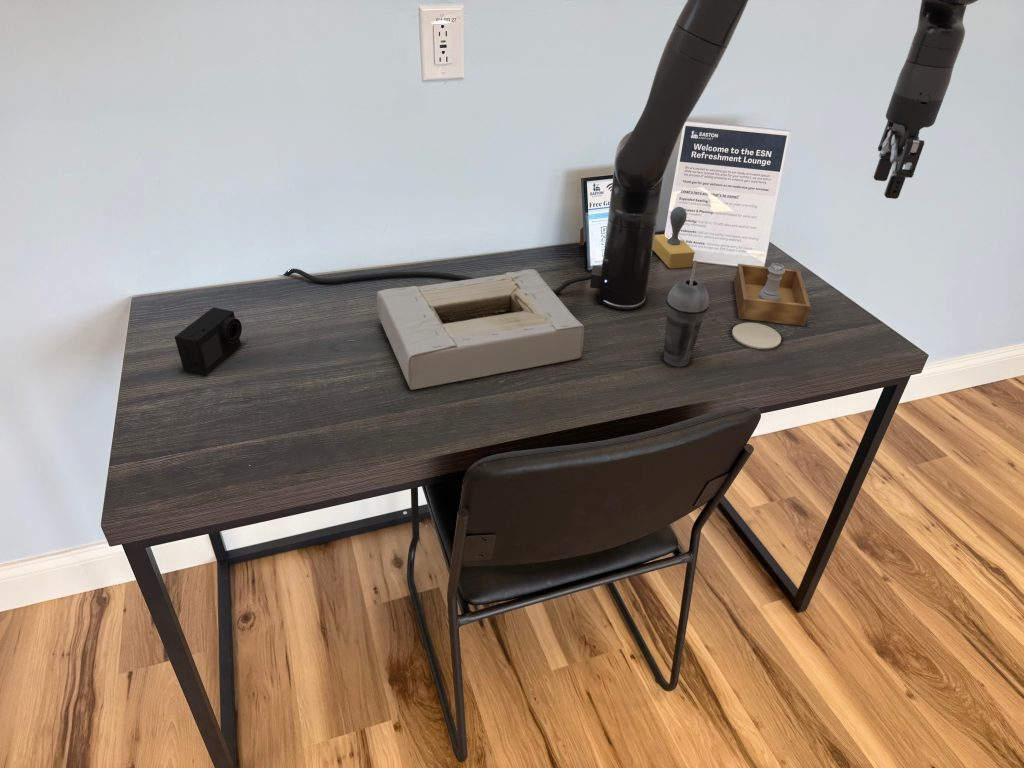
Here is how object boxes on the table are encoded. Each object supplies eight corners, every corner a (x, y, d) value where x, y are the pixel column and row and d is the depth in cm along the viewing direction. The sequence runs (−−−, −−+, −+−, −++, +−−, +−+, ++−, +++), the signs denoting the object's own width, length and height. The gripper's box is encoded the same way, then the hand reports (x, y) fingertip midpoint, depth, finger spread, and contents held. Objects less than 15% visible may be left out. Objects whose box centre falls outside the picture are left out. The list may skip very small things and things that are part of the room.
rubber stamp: (651, 249, 169) (658, 199, 162) (674, 247, 170) (683, 197, 163) (668, 268, 161) (677, 217, 154) (692, 266, 162) (702, 215, 155)
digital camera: (211, 377, 122) (202, 342, 118) (183, 371, 123) (173, 336, 119) (247, 346, 130) (240, 311, 126) (220, 340, 132) (212, 306, 127)
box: (533, 298, 148) (377, 322, 138) (536, 264, 144) (374, 286, 133) (583, 360, 131) (409, 393, 121) (588, 324, 126) (407, 355, 116)
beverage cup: (699, 353, 133) (721, 252, 122) (694, 374, 128) (716, 271, 116) (659, 345, 135) (677, 245, 123) (652, 365, 129) (670, 263, 118)
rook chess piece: (780, 299, 150) (790, 263, 146) (777, 308, 147) (787, 273, 142) (758, 294, 152) (768, 259, 147) (755, 303, 148) (764, 267, 144)
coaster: (733, 346, 136) (734, 344, 135) (730, 321, 143) (730, 320, 143) (783, 352, 135) (784, 350, 134) (777, 327, 142) (778, 325, 142)
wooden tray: (738, 318, 144) (743, 298, 142) (733, 282, 157) (738, 263, 154) (804, 326, 142) (811, 306, 140) (794, 288, 155) (799, 270, 152)
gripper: (885, 79, 125) (854, 172, 134) (906, 101, 113) (871, 201, 123) (931, 83, 124) (897, 177, 133) (957, 106, 112) (918, 206, 122)
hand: (884, 188), depth 128 cm, fingers open, 8 cm apart
